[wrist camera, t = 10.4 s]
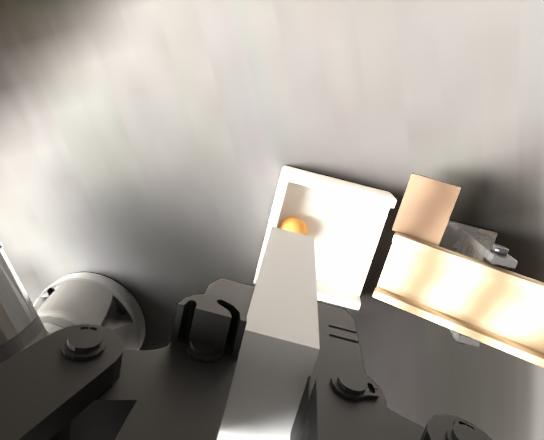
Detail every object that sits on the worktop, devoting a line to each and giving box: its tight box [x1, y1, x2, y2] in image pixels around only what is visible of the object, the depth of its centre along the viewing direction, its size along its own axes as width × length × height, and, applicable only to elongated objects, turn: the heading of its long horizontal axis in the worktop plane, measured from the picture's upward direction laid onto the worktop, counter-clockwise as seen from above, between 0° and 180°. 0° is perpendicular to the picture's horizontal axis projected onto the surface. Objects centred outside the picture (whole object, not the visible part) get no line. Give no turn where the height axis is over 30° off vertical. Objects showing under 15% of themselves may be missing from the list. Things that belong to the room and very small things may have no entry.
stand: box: [439, 220, 518, 347], centre depth 45 cm, size 6×11×9 cm, turn 166°
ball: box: [278, 217, 308, 235], centre depth 47 cm, size 4×4×4 cm
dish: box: [253, 165, 397, 311], centre depth 48 cm, size 13×14×4 cm
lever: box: [372, 173, 544, 368], centre depth 40 cm, size 20×14×2 cm
